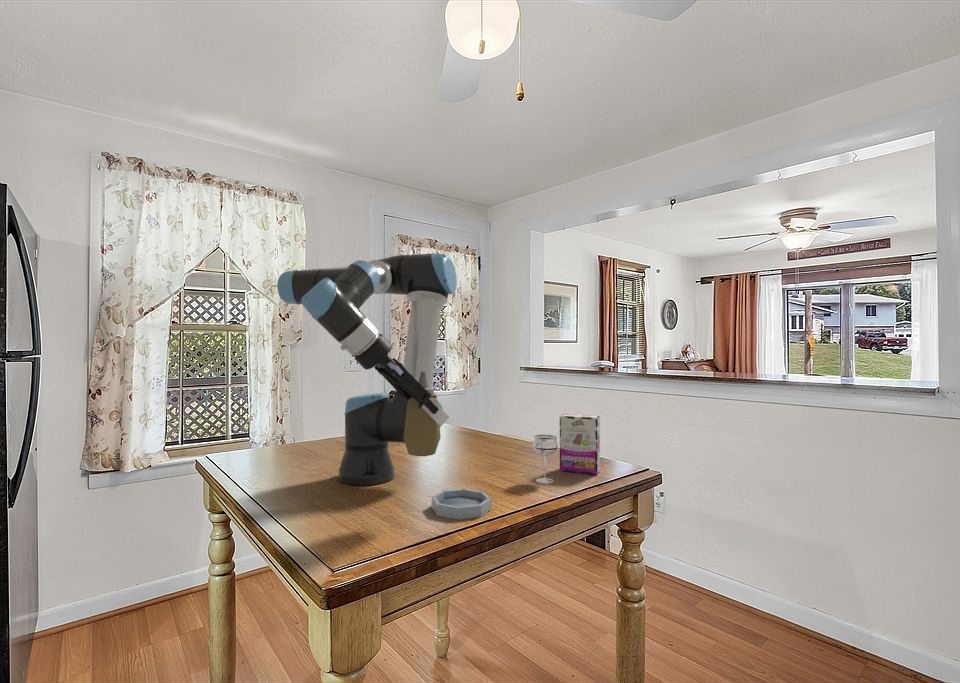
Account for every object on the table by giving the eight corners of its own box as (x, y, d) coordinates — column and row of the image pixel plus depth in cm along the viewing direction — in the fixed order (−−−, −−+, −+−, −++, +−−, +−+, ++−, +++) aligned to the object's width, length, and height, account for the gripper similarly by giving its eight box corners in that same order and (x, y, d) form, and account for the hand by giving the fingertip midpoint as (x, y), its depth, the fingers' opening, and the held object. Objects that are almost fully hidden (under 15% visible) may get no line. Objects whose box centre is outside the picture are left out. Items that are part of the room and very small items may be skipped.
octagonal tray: (422, 513, 110) (423, 501, 110) (450, 496, 121) (450, 486, 121) (473, 522, 104) (473, 510, 104) (497, 504, 116) (497, 494, 116)
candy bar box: (600, 471, 145) (600, 415, 145) (597, 475, 141) (598, 418, 141) (562, 467, 150) (563, 413, 150) (558, 471, 145) (559, 415, 145)
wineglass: (541, 475, 140) (541, 433, 140) (562, 480, 136) (562, 436, 136) (527, 481, 135) (528, 437, 135) (549, 485, 130) (549, 440, 130)
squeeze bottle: (433, 459, 103) (435, 373, 103) (397, 456, 105) (399, 372, 105) (445, 451, 111) (447, 371, 111) (411, 448, 113) (413, 369, 113)
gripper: (343, 355, 109) (412, 424, 117) (364, 359, 92) (443, 440, 100) (367, 331, 112) (433, 401, 119) (393, 332, 94) (468, 413, 102)
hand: (438, 418), depth 109 cm, fingers closed on squeeze bottle, 6 cm apart
